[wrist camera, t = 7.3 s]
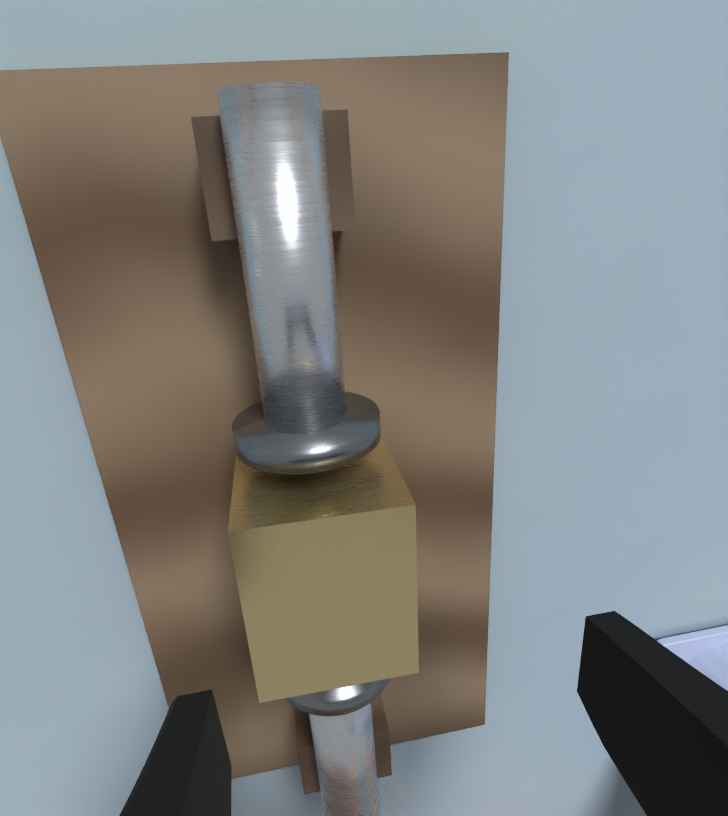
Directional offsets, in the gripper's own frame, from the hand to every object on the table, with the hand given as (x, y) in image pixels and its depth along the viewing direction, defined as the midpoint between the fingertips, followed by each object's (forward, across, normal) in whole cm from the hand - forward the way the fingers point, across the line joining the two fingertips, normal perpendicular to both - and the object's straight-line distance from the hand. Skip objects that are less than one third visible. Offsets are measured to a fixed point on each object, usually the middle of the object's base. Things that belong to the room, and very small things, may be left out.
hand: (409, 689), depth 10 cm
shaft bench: (+8, +1, 0) cm, 8 cm away
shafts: (+7, +1, 0) cm, 7 cm away
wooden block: (+7, +1, 0) cm, 7 cm away
